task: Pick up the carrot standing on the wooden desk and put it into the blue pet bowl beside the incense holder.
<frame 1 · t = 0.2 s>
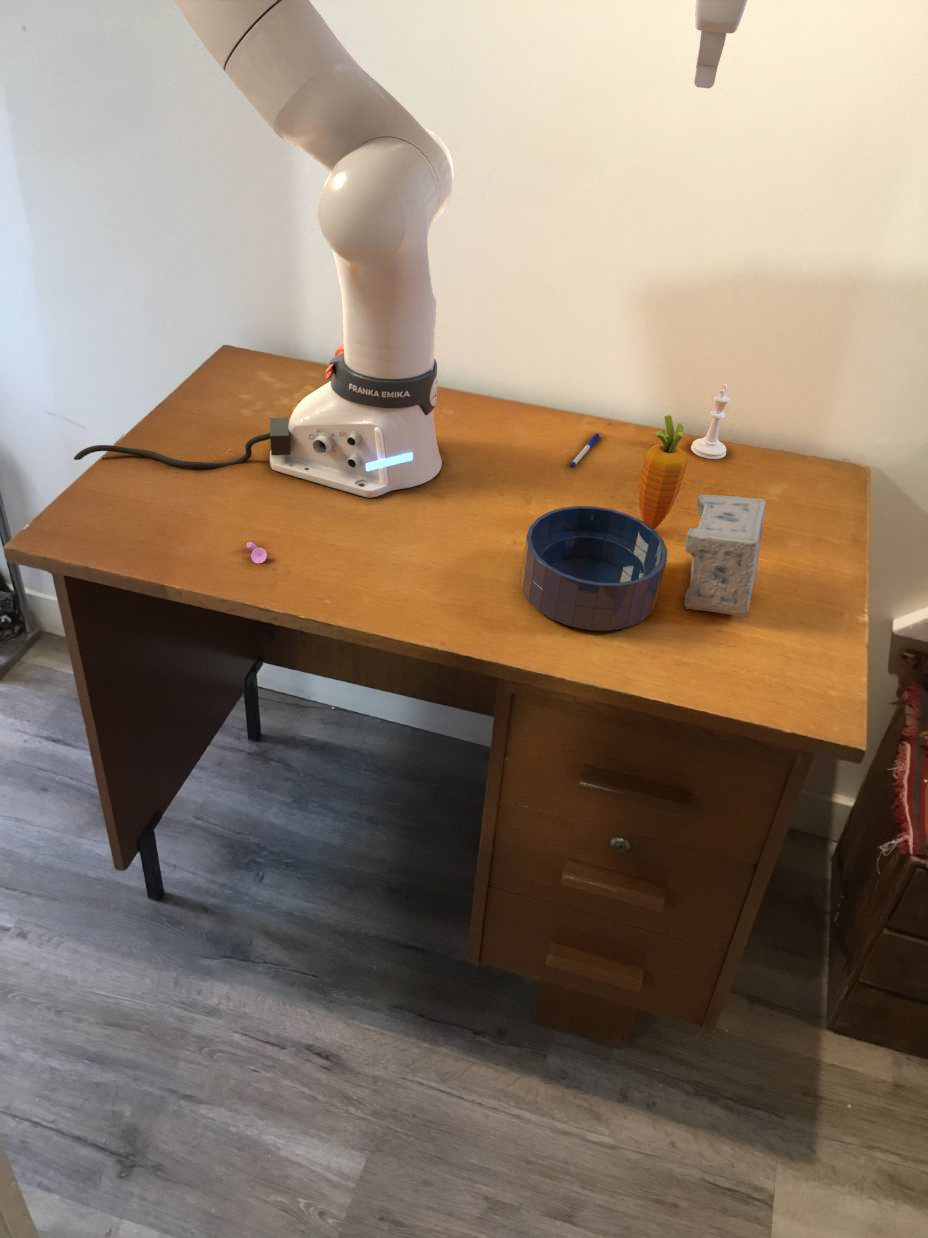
hand: (703, 78, 87), 47 cm above the table, tool pointing down, fingers open, 8 cm apart
chess piece: (708, 451, 129), on the table
ballpoint pen: (584, 453, 127), on the table
blue pet bowl: (587, 591, 101), on the table
carrot: (648, 533, 112), on the table
incense holder: (711, 593, 103), on the table
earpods: (257, 557, 103), on the table
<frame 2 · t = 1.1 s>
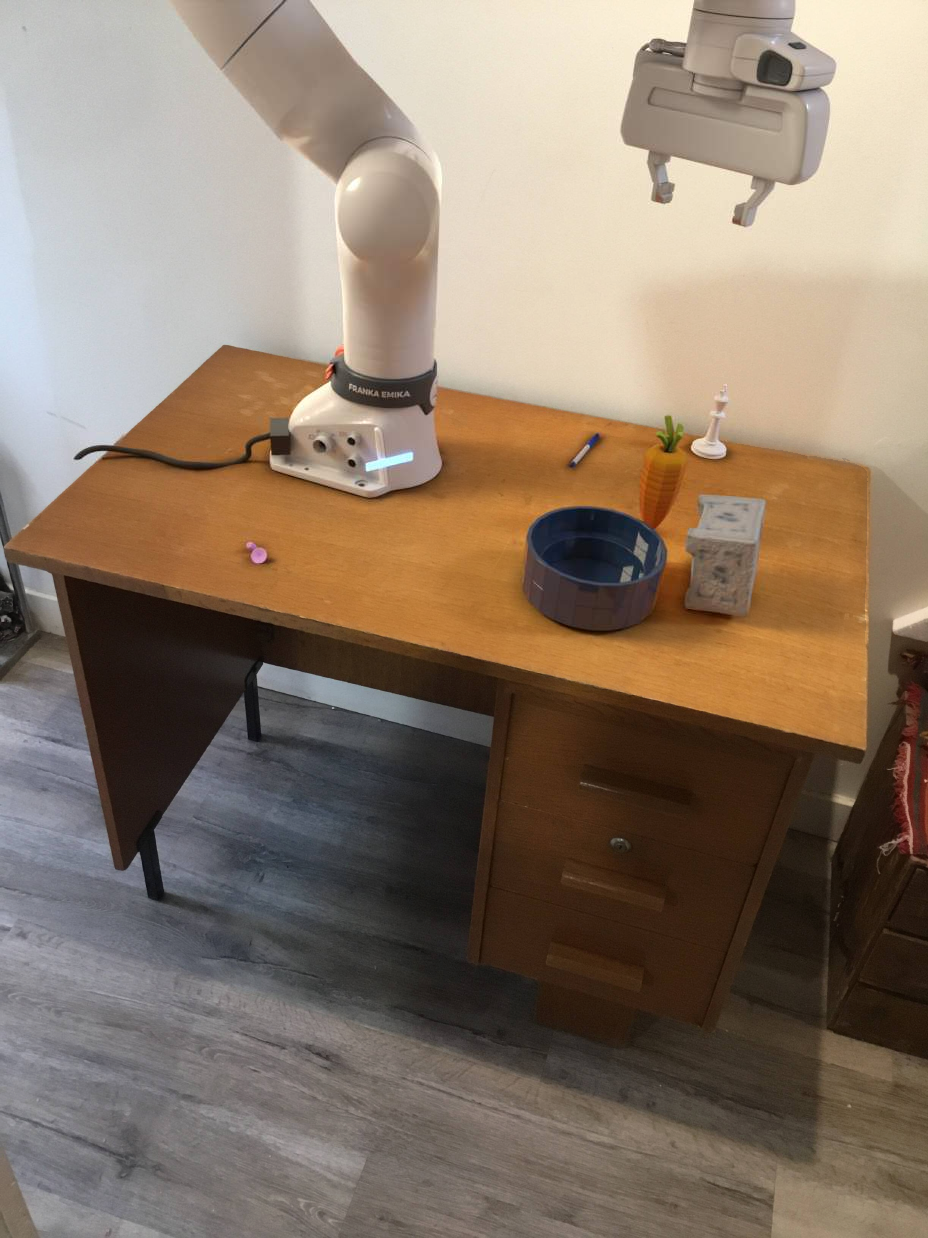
hand: (700, 212, 91), 36 cm above the table, tool pointing down, fingers open, 8 cm apart
nothing on the table moved.
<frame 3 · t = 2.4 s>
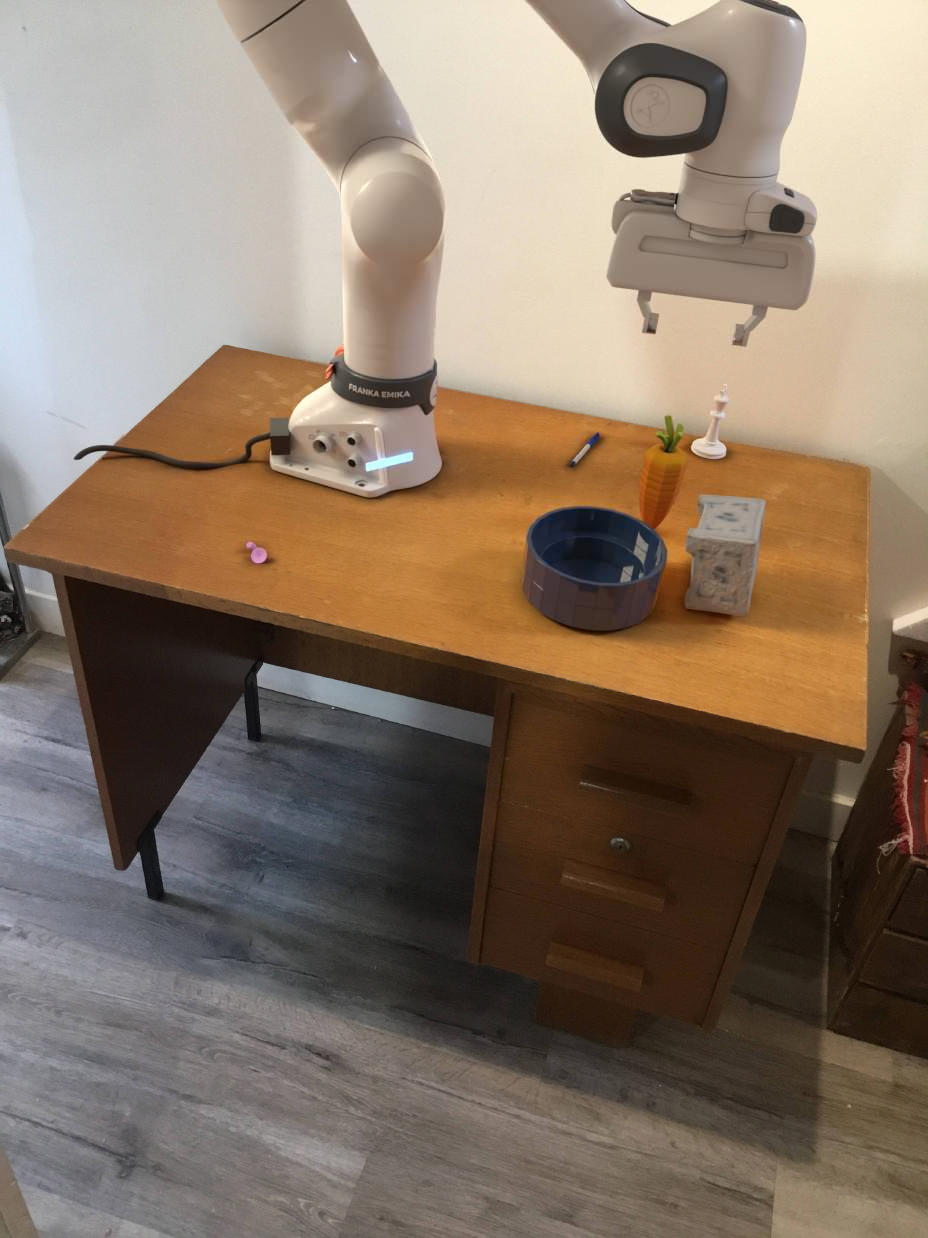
hand: (693, 337, 96), 24 cm above the table, tool pointing down, fingers open, 8 cm apart
nothing on the table moved.
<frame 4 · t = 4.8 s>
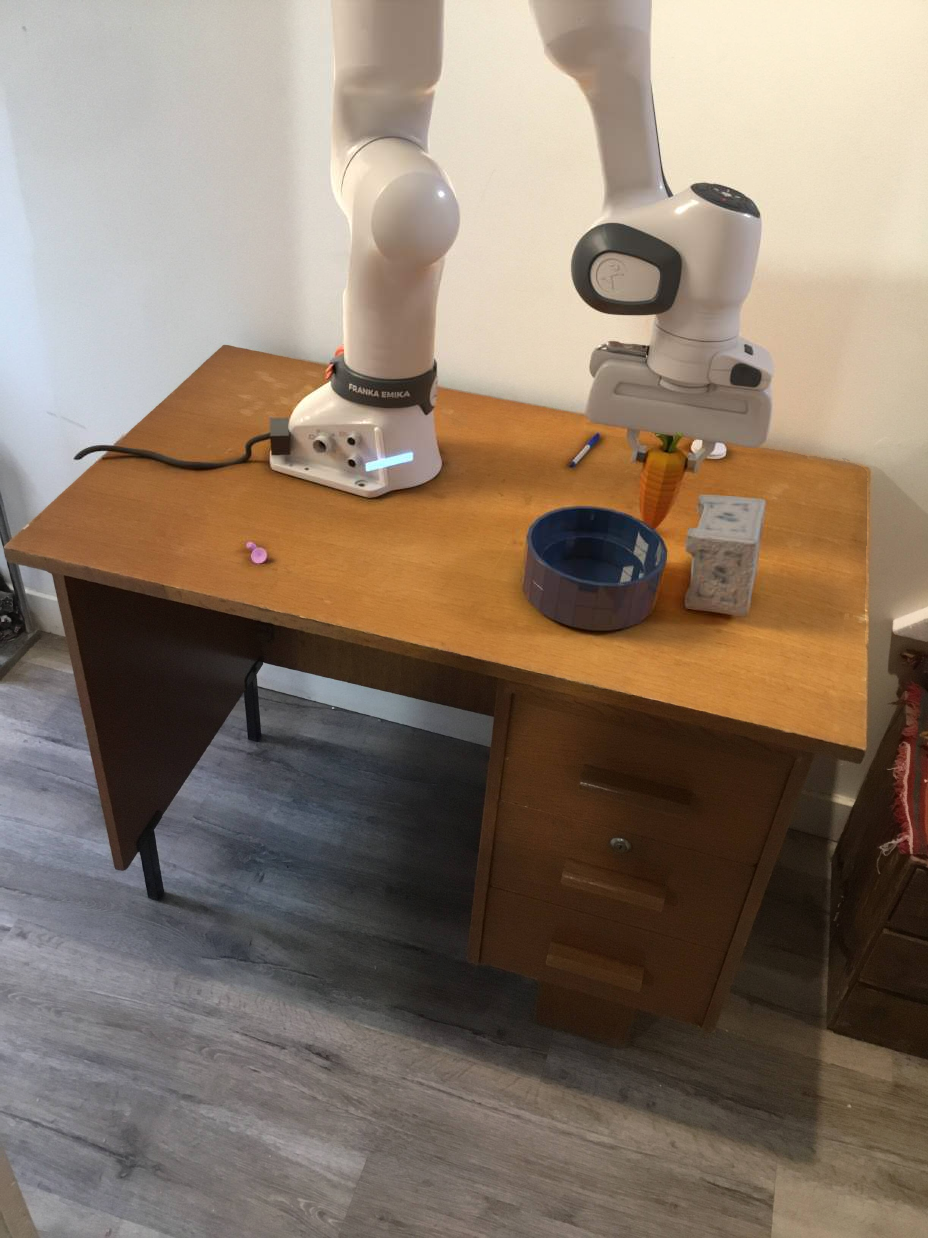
hand: (664, 466, 106), 9 cm above the table, tool pointing down, fingers closed on carrot, 5 cm apart
carrot: (649, 533, 112), on the table, touching gripper
everything else where it was.
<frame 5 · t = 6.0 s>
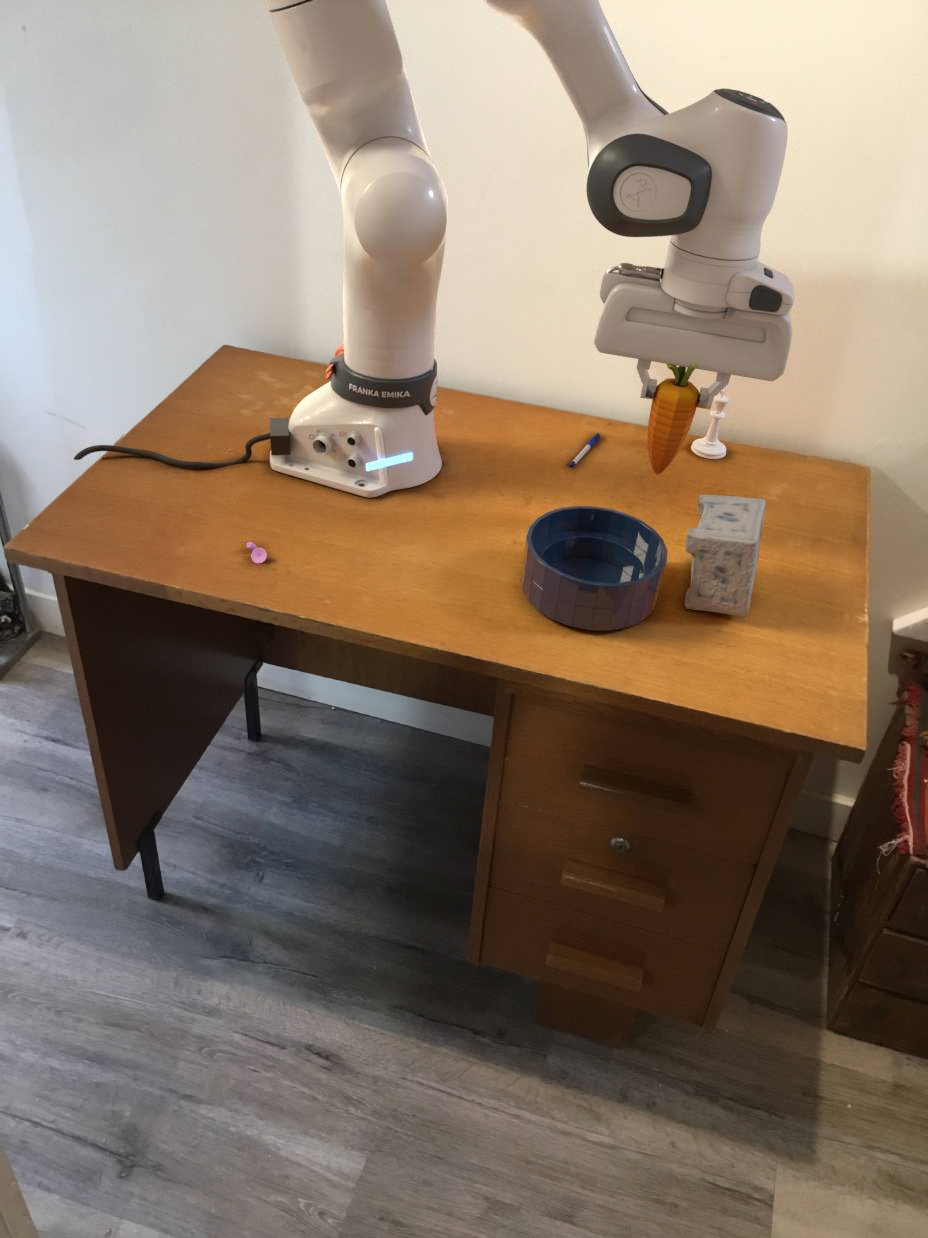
hand: (675, 401, 101), 17 cm above the table, tool pointing down, fingers closed on carrot, 5 cm apart
carrot: (656, 475, 107), point 8 cm above the table, touching gripper
everything else where it was.
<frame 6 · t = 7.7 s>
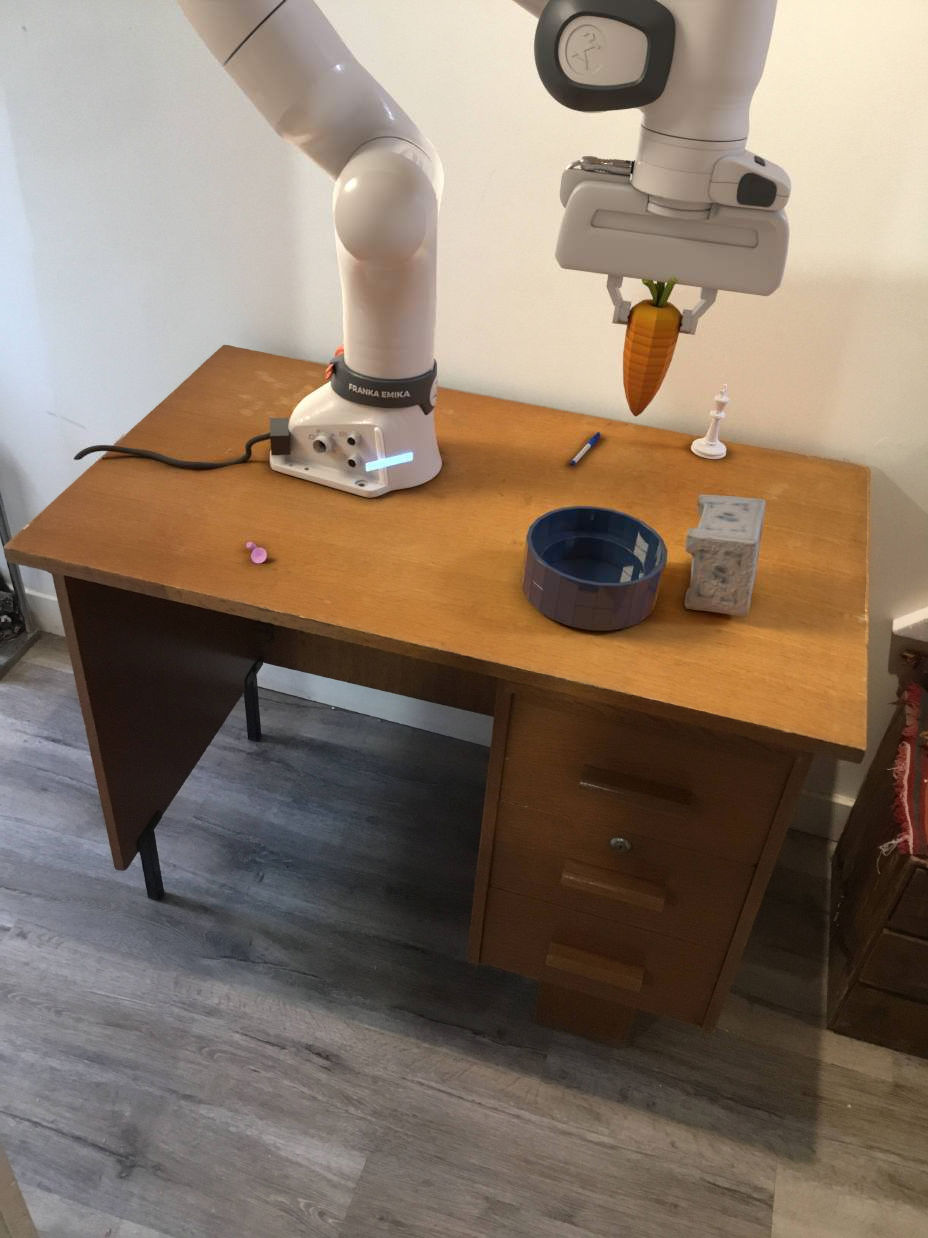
hand: (653, 327, 86), 29 cm above the table, tool pointing down, fingers closed on carrot, 5 cm apart
carrot: (635, 417, 92), point 20 cm above the table, touching gripper
everything else where it was.
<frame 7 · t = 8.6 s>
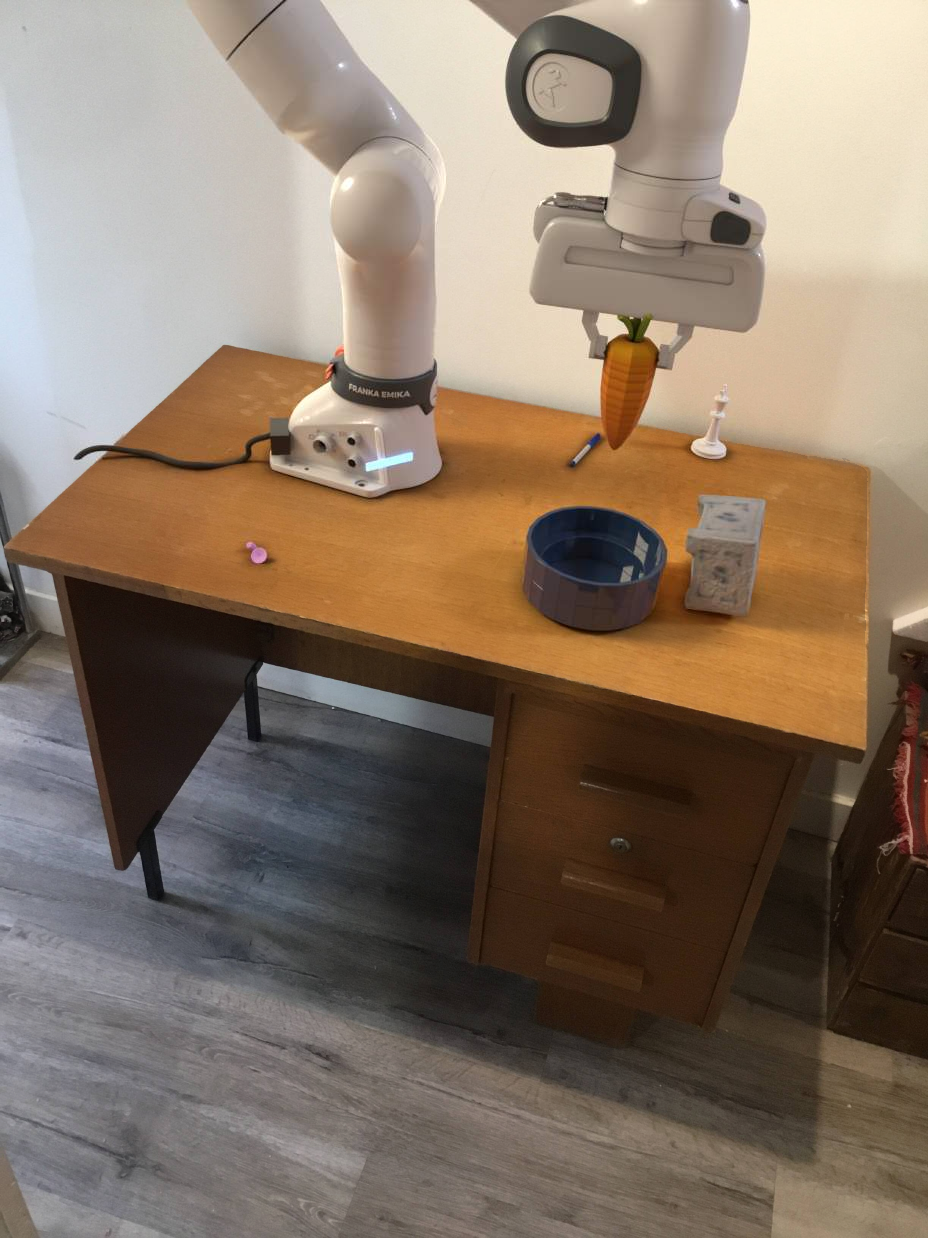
hand: (630, 362, 85), 27 cm above the table, tool pointing down, fingers closed on carrot, 5 cm apart
carrot: (613, 451, 90), point 17 cm above the table, touching gripper
everything else where it was.
when the fingers open (10 cm above the table, at t = 12.8 s): carrot stays where it is, resting on blue pet bowl.
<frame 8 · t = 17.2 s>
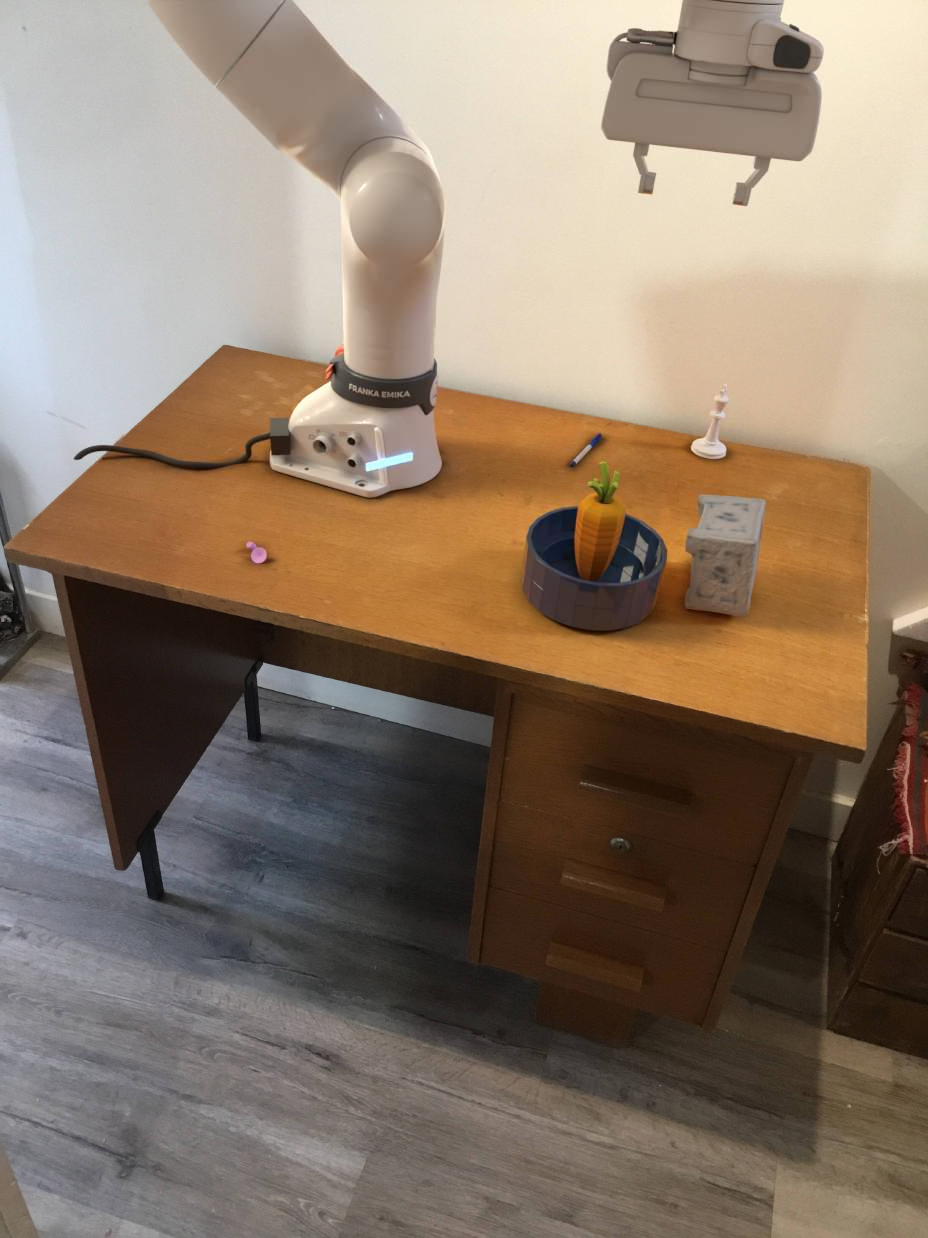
hand: (692, 198, 92), 37 cm above the table, tool pointing down, fingers open, 8 cm apart
carrot: (587, 588, 101), resting on blue pet bowl
everything else where it was.
at the end: carrot inside the target area in the blue pet bowl (0.1 cm from its centre), point 0.4 cm above the blue pet bowl's base; the gripper is holding nothing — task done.
